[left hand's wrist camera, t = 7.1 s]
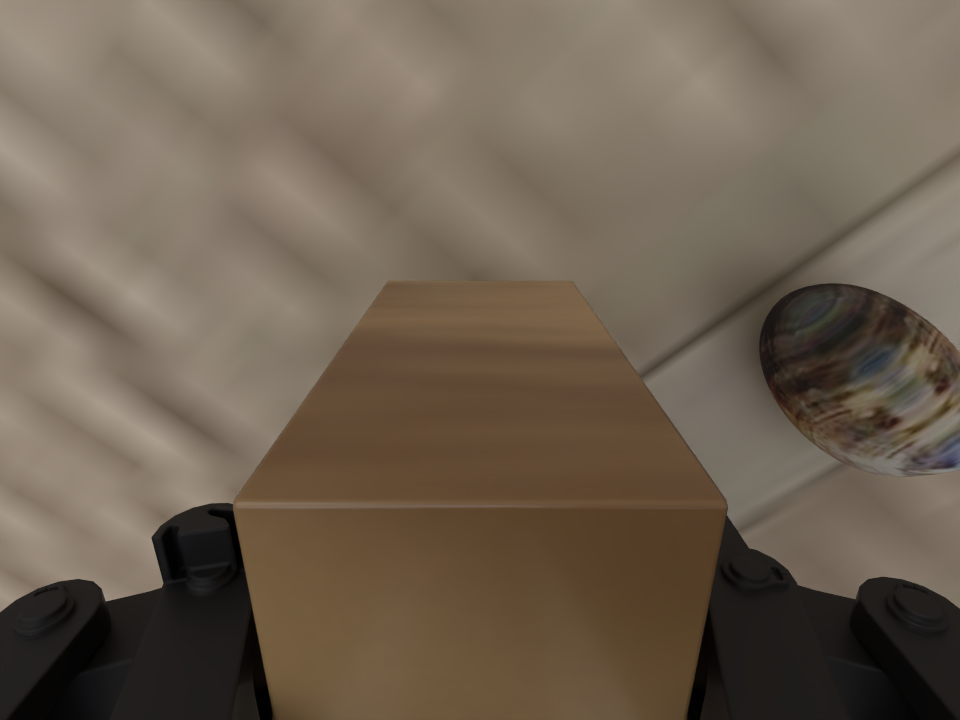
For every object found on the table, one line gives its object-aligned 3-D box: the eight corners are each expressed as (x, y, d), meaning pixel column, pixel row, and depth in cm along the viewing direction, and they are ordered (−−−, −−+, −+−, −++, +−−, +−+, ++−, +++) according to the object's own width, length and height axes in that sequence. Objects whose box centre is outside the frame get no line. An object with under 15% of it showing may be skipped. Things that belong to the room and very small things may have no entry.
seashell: (918, 375, 25) (1106, 472, 17) (810, 453, 26) (941, 573, 19) (802, 226, 23) (962, 264, 15) (691, 320, 24) (786, 397, 16)
